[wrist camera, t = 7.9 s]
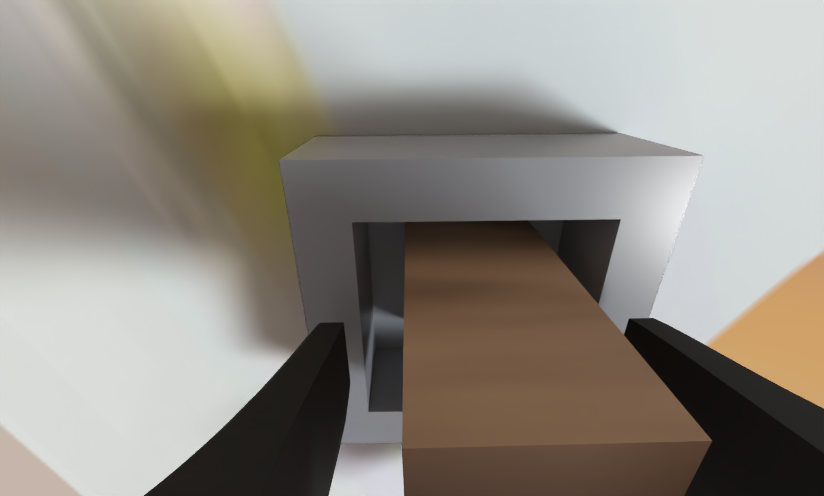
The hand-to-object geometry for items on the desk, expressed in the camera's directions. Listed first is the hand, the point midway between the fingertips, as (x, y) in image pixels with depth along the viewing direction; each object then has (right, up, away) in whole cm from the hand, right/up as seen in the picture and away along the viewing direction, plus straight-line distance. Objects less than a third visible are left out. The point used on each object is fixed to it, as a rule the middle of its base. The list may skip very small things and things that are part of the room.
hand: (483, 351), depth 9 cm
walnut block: (0, +2, +3) cm, 4 cm away
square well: (0, +2, +4) cm, 4 cm away
